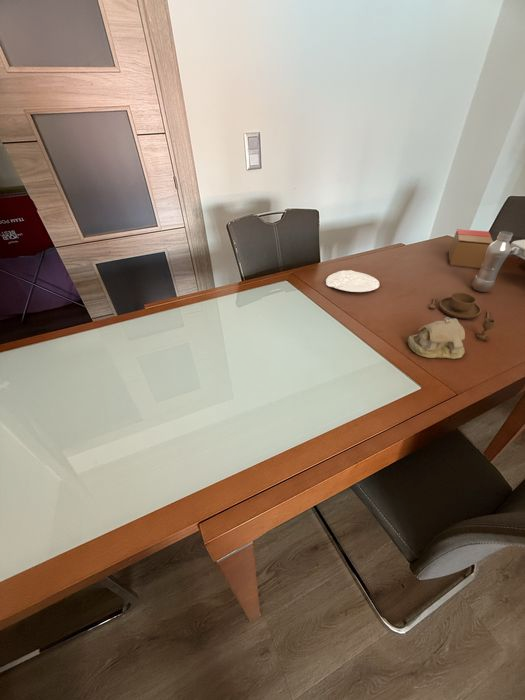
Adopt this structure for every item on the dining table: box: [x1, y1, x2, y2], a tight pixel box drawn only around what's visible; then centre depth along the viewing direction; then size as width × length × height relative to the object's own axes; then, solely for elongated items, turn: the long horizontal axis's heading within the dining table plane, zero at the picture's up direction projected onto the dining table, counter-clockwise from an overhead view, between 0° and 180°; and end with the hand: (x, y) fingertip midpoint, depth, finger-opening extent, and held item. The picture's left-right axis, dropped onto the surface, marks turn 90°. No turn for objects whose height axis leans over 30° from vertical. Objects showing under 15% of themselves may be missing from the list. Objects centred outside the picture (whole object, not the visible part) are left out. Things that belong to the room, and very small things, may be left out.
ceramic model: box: [407, 316, 466, 359], centre depth 82 cm, size 14×11×10 cm
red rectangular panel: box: [456, 228, 492, 238], centre depth 124 cm, size 7×12×1 cm, turn 67°
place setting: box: [429, 292, 496, 341], centre depth 94 cm, size 18×20×6 cm
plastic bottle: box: [471, 230, 514, 293], centre depth 102 cm, size 6×7×20 cm
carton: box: [448, 230, 494, 269], centre depth 125 cm, size 14×12×10 cm
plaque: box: [325, 269, 380, 293], centre depth 116 cm, size 20×20×2 cm
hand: (517, 258), depth 103 cm, fingers open, 8 cm apart
